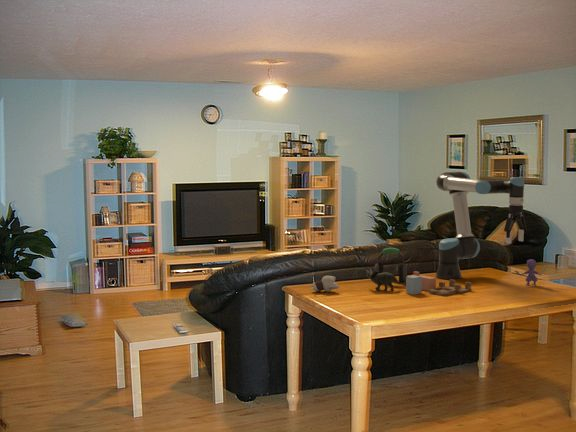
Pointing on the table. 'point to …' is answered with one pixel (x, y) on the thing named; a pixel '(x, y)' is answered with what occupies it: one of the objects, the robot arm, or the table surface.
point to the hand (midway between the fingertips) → (514, 242)
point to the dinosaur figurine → (382, 279)
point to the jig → (450, 288)
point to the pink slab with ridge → (426, 281)
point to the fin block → (414, 284)
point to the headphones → (401, 266)
